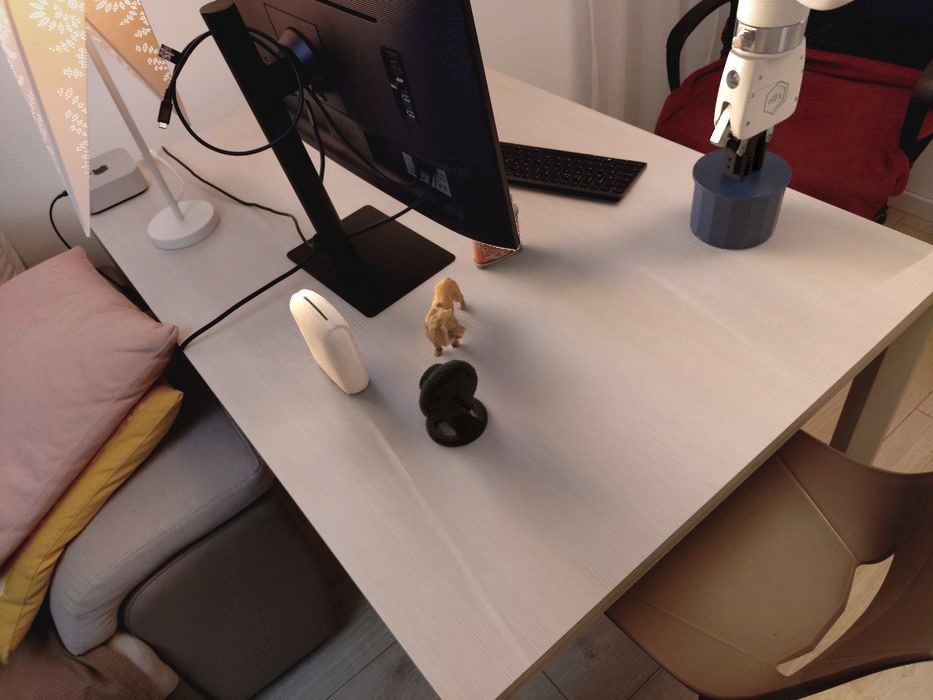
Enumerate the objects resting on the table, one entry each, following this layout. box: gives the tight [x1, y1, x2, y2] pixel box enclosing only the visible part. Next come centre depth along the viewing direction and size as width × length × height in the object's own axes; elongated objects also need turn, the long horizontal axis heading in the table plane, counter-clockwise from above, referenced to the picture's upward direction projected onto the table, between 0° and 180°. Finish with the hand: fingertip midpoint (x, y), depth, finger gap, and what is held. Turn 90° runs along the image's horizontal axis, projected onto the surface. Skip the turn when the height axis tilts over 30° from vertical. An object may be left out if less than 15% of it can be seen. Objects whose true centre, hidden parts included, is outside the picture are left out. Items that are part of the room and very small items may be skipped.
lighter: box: [471, 193, 523, 271], centre depth 92 cm, size 8×3×10 cm, turn 119°
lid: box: [691, 133, 793, 201], centre depth 84 cm, size 13×13×7 cm
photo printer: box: [289, 289, 371, 395], centre depth 80 cm, size 10×4×12 cm, turn 39°
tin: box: [689, 182, 787, 250], centre depth 89 cm, size 12×12×8 cm
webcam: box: [418, 359, 489, 448], centre depth 72 cm, size 8×8×10 cm
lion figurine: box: [423, 277, 467, 357], centre depth 83 cm, size 15×5×9 cm, turn 4°
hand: (741, 170), depth 86 cm, fingers closed on lid, 2 cm apart
